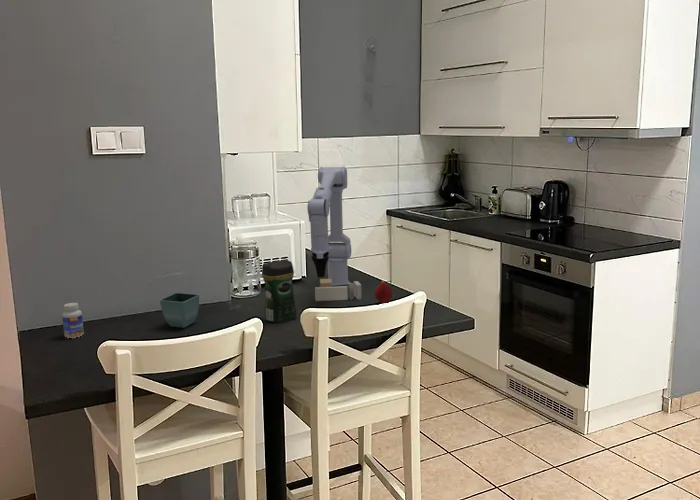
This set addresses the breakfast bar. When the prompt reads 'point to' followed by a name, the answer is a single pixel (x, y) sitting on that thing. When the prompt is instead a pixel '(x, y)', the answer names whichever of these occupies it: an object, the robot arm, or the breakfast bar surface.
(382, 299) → the onion
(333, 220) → the robot arm
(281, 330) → the breakfast bar surface
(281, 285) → the coffee jar
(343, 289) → the grey rectangular bar
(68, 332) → the pill bottle
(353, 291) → the grey boxy piece
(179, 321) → the flower pot
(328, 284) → the rubber block
